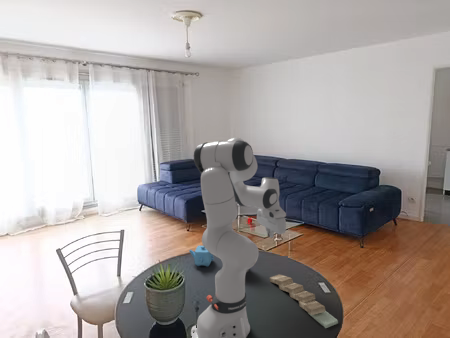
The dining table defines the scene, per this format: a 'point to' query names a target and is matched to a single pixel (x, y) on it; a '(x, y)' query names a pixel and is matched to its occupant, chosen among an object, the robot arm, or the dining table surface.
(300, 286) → the domino
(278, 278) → the domino
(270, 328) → the dining table surface
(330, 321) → the end domino
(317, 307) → the domino
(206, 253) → the teapot
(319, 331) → the dining table surface
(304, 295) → the domino
